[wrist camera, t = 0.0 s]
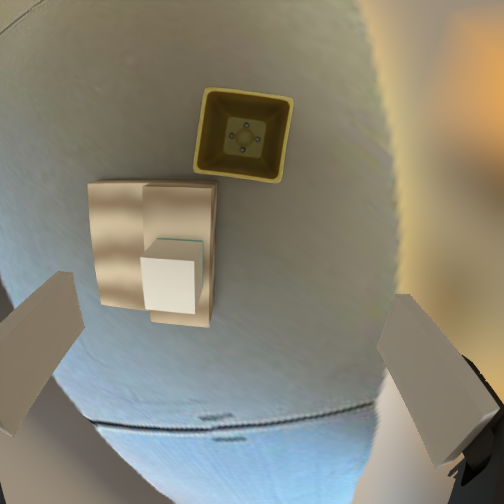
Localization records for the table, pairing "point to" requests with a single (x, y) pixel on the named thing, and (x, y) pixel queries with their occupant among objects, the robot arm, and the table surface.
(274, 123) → the flower pot
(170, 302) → the cream block
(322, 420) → the table surface
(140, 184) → the beech steps
